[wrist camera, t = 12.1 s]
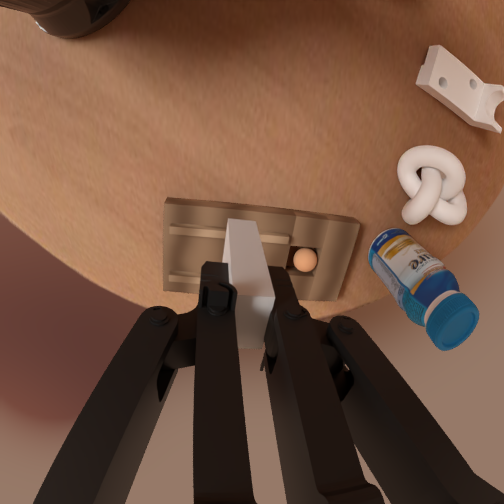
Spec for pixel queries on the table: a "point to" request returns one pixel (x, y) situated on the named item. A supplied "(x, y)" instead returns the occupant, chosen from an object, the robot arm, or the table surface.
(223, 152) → the table surface
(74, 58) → the table surface
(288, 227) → the lane board
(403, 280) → the beverage bottle
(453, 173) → the white knot
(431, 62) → the bracket
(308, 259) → the ball
